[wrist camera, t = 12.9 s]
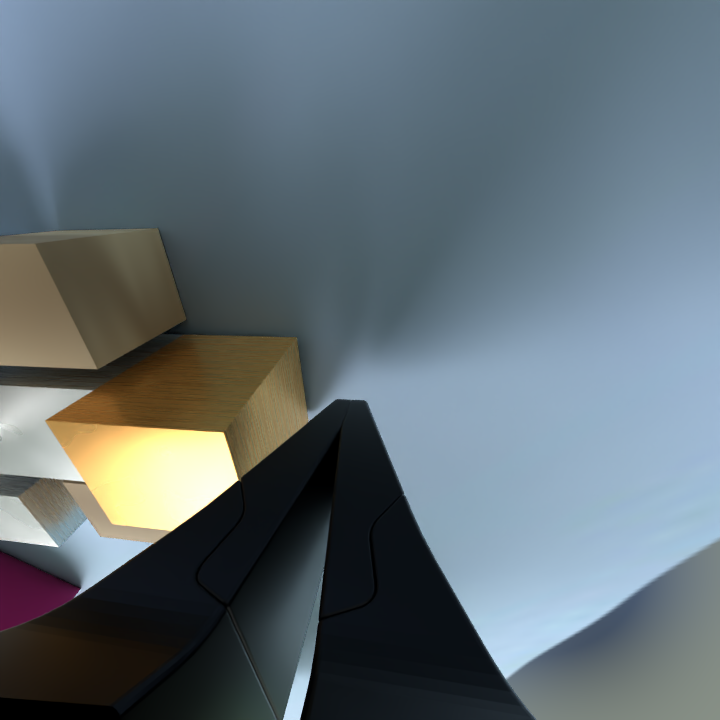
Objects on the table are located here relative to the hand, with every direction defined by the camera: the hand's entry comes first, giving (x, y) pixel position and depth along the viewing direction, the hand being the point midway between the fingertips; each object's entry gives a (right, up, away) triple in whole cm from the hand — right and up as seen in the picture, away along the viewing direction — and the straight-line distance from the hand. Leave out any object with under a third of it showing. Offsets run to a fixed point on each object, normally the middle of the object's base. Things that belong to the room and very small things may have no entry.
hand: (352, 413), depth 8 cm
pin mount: (-6, +1, +2) cm, 7 cm away
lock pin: (-6, +1, +2) cm, 7 cm away
